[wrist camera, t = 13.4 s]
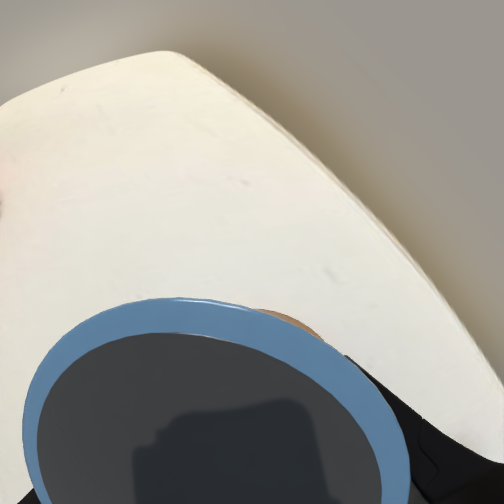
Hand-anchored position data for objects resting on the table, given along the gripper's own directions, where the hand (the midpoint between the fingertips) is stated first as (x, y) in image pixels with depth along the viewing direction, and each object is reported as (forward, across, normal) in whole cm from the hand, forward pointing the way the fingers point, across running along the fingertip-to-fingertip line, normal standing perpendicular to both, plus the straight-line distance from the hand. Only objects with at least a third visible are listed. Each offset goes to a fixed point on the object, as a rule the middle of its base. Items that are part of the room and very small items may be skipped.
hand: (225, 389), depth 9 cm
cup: (+2, 0, +4) cm, 5 cm away
